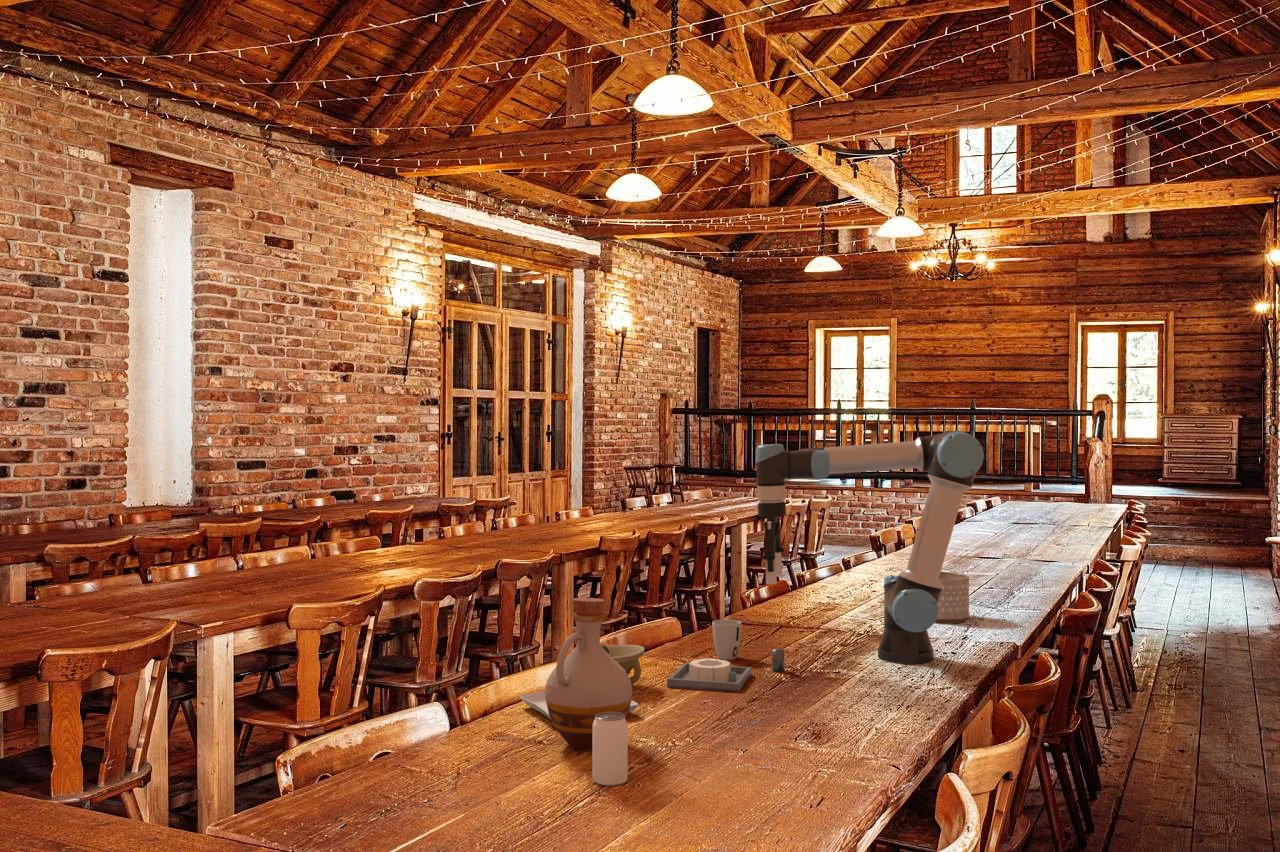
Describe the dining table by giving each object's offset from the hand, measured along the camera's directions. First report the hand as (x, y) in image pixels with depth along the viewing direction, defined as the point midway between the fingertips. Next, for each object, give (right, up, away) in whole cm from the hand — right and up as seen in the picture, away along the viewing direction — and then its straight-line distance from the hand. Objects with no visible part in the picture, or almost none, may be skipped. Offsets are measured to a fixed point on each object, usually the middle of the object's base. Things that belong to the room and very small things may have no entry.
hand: (774, 580), depth 290 cm
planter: (+64, -23, +69) cm, 96 cm away
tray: (-18, -23, -16) cm, 34 cm away
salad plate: (-50, -24, -45) cm, 72 cm away
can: (-42, -24, -92) cm, 104 cm away
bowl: (-44, -24, -22) cm, 54 cm away
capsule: (0, -23, -5) cm, 24 cm away
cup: (-12, -23, +10) cm, 28 cm away
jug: (-47, -24, -71) cm, 88 cm away
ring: (-18, -23, -16) cm, 34 cm away
